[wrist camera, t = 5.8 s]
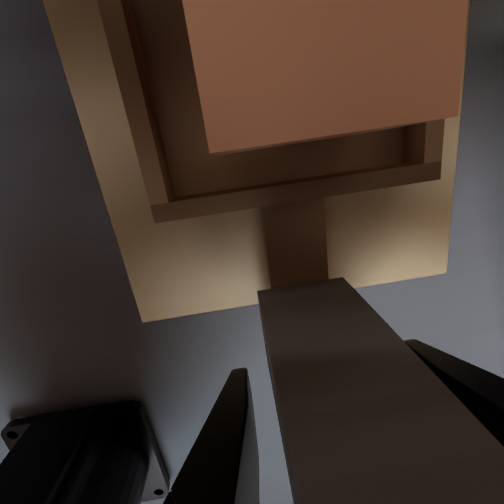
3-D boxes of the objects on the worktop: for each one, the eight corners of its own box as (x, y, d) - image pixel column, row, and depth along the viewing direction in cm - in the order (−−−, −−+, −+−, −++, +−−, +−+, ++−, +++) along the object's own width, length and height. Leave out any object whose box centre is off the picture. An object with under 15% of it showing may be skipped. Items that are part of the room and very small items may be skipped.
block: (353, 135, 8) (458, 115, 5) (218, 155, 8) (209, 153, 4) (350, -38, 7) (491, -268, 3) (189, -17, 7) (140, -227, 3)
